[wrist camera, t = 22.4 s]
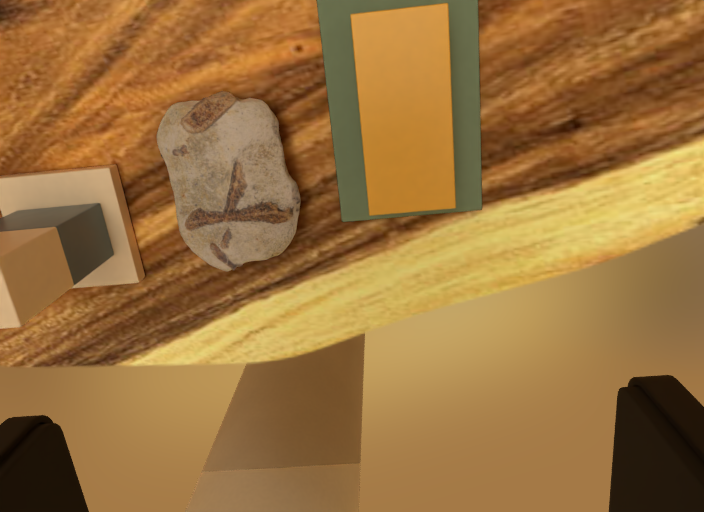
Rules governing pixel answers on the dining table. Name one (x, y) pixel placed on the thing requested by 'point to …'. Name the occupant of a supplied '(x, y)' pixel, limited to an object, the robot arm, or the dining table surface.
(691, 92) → the dining table surface
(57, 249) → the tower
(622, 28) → the dining table surface
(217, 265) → the stone
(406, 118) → the bar
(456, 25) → the mat
